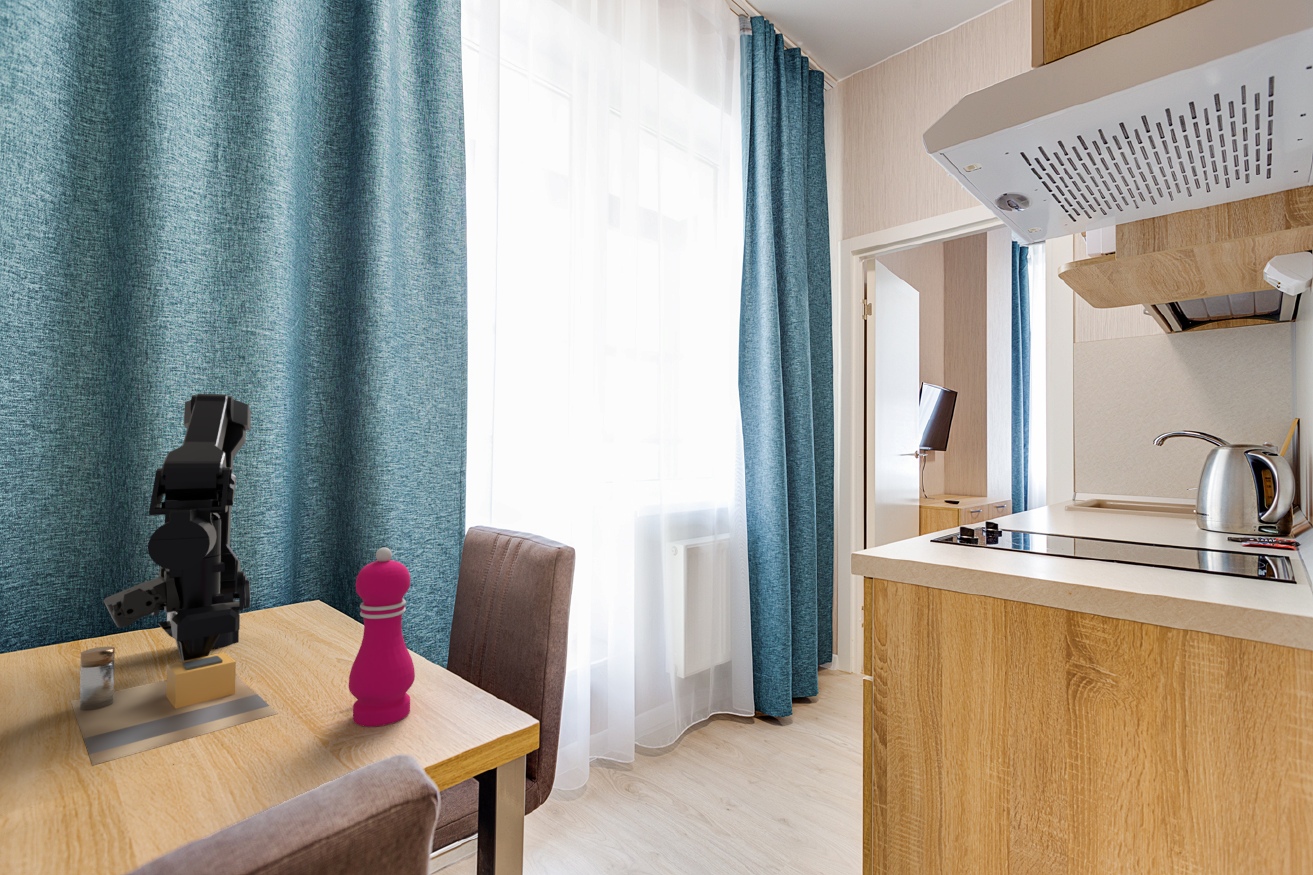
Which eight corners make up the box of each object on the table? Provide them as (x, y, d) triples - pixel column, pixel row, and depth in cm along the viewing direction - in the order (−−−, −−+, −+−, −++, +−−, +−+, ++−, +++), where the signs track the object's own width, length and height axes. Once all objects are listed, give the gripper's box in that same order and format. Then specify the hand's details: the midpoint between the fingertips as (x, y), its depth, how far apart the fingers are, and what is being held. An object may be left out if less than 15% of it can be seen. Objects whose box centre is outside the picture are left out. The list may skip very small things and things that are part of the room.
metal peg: (111, 697, 76) (112, 644, 76) (115, 705, 74) (116, 650, 74) (78, 705, 74) (79, 650, 74) (81, 712, 72) (82, 656, 72)
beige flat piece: (227, 673, 87) (227, 666, 87) (277, 721, 72) (278, 713, 72) (70, 709, 75) (70, 700, 75) (92, 775, 60) (92, 765, 60)
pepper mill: (427, 707, 76) (429, 544, 76) (383, 733, 69) (385, 554, 69) (380, 699, 78) (382, 541, 79) (333, 723, 72) (335, 550, 72)
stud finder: (224, 683, 81) (224, 650, 81) (235, 693, 77) (235, 659, 77) (166, 696, 76) (166, 661, 76) (175, 708, 73) (176, 672, 73)
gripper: (100, 554, 80) (98, 675, 80) (122, 576, 68) (119, 720, 67) (205, 545, 88) (203, 654, 88) (241, 562, 76) (239, 690, 76)
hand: (191, 677), depth 80 cm, fingers closed
